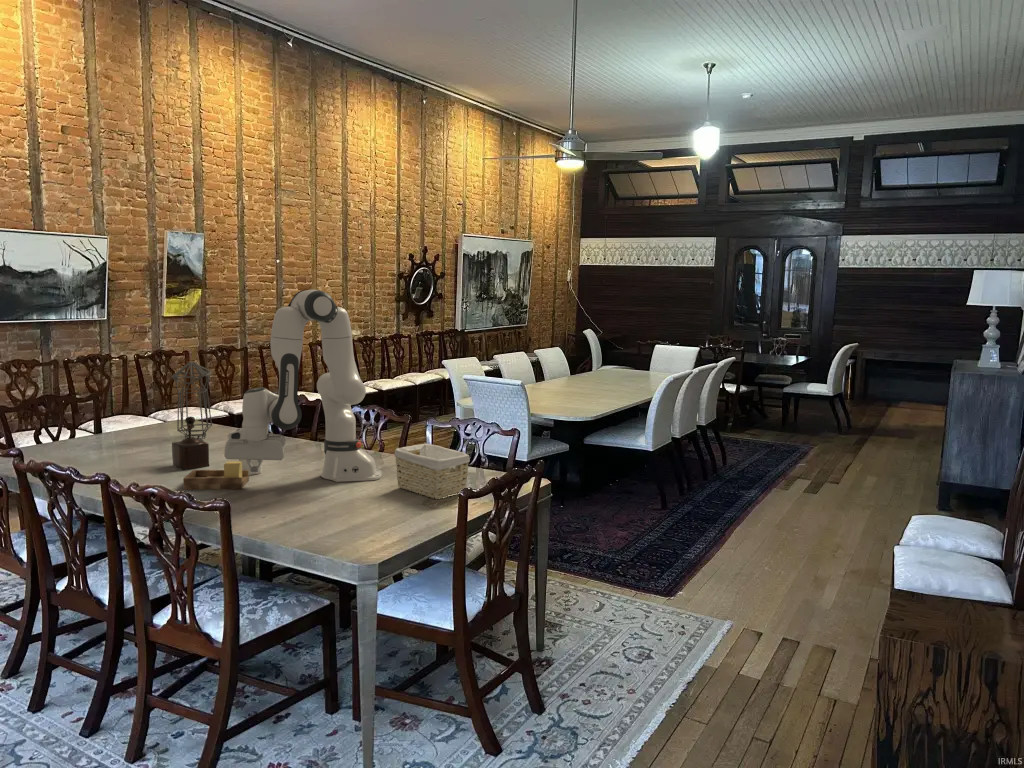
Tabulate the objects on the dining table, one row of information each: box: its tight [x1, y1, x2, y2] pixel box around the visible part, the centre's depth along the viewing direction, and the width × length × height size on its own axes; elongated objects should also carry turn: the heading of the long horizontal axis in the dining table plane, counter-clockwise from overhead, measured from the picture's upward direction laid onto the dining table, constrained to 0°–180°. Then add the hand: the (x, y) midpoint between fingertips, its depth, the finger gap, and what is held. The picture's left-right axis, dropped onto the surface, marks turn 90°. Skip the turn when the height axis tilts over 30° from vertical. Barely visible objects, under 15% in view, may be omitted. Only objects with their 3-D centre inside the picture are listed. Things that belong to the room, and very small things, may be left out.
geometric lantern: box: [170, 361, 213, 440], centre depth 345 cm, size 16×16×35 cm
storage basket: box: [394, 442, 471, 500], centre depth 270 cm, size 24×16×15 cm
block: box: [223, 460, 242, 478], centre depth 269 cm, size 5×5×6 cm
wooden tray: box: [182, 469, 250, 491], centre depth 269 cm, size 19×12×4 cm, turn 97°
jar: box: [238, 459, 263, 476], centre depth 288 cm, size 9×8×12 cm
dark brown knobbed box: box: [171, 416, 210, 471], centre depth 296 cm, size 16×11×18 cm
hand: (254, 471), depth 270 cm, fingers closed
